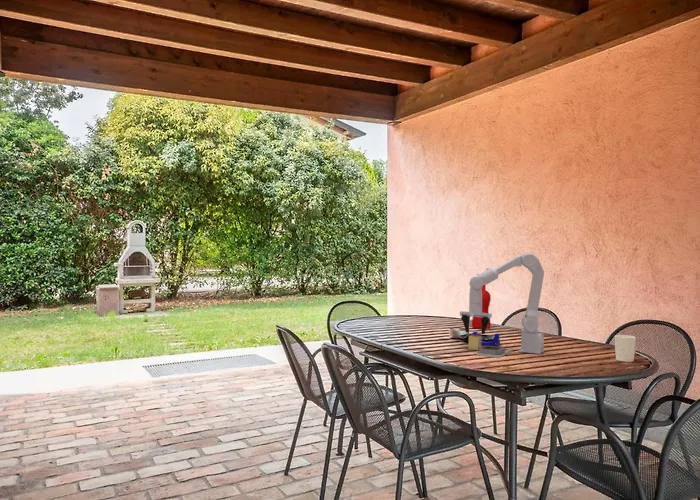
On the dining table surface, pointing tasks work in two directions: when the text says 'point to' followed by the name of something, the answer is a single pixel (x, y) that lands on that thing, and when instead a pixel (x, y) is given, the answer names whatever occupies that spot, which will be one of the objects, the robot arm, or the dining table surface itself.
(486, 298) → the water bottle
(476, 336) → the tan rectangular block
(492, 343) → the cable clip
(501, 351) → the grey base plate
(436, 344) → the dining table surface
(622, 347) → the white cup
